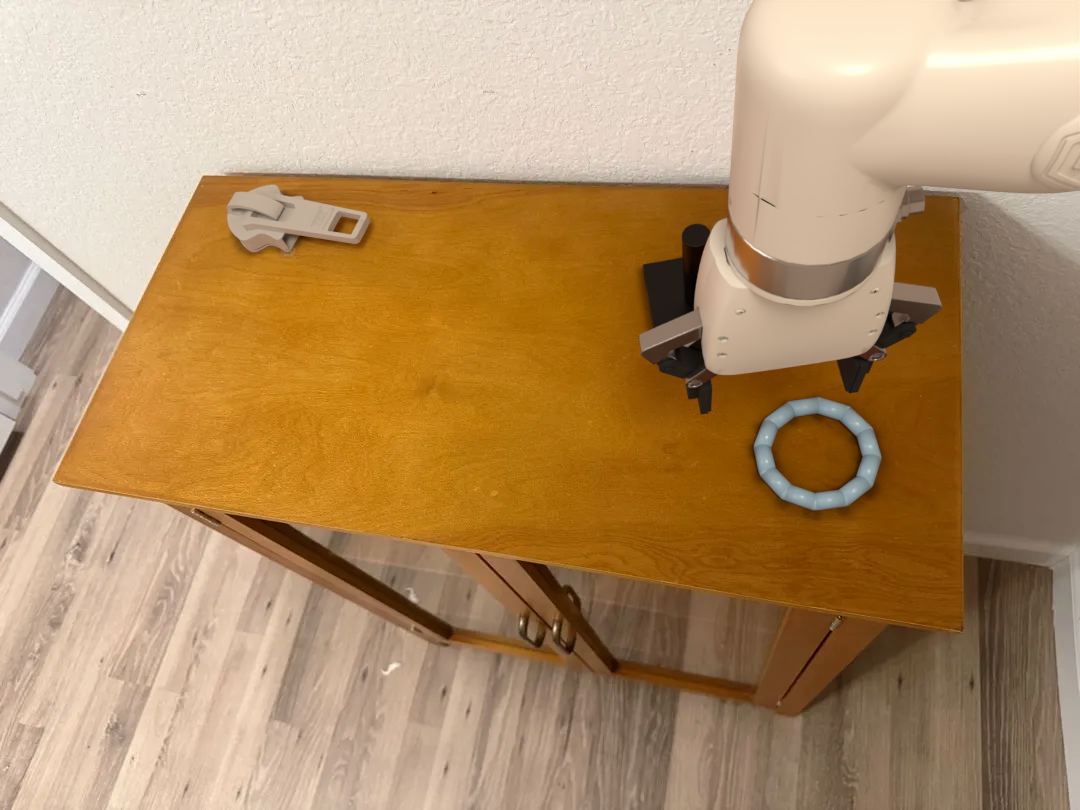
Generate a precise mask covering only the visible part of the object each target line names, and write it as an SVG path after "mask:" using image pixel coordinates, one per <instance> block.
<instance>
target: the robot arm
mask: <svg viewBox="0 0 1080 810" xmlns="http://www.w3.org/2000/svg"><path fill="white" fill-rule="evenodd" d="M736 54H737V55H736V69H735V84H734V103H733V119H732V120H733V121H732V132H731V133H732V137H731V150H730V165H729V167H730V168H729V180H728V182H729V183H728V198H727V209H726V210H727V211H726V217H724V218H722V219H720V220H718V221H717V222H715V224H714V225H713V227H712V229H711V230H710V232H711V233H710V235H709V238H708V240H707V243H706V245H705V248H704V251H703V254H702V258H701V262H700V266H699V271H698V276H697V283H696V289H695V298H694V311H692V312H690V313H688V314H685V315H683V316H681V317H678V318H676V319H674V320H671V321H669V322H667V323H665V324H662V325H660V326H658V327H655V328H653V327H652V328H651V329H648V330H646V331H644V332H642V333H640V334H639V335H637V337H638V338H637V340H638V345H639V346H638V347H639V354H640V355H641V357H642V358H644V360H647V361H648V362H649V363H650V364H652V365H656V366H657V367H658V371H659V372H660V373H662V374H666V375H668V376H671V377H675V378H678V379H681V380H683V381H684V386H685V390H686V395H687V400H695V399H697V402H698V409H699V413H700V415H709V414H710V413H709V412H712V403H713V402H712V401H713V384H712V379H713V378H715V377H716V376H735V375H744V374H750V373H751V374H752V373H759V372H766V371H767V372H768V371H773V370H781V369H787V368H793V367H801V366H807V365H812V364H819V363H825V362H831V361H836V364H837V366H838V370H839V375H840V377H841V380H842V384H843V387H844V391H845V393H846V392H847V393H848V394H854V393H855V394H857V393H858V392H859V391H860V390H861V386H862V385H863V382H864V379H865V377H866V375H868V374H869V373H870V371H871V369H872V368H873V367H872V366H873V364H874V362H878V361H882V360H883V359H885V358H886V357H887V356H888V351H887V349H888V348H889V347H891V346H893V345H895V344H897V343H899V342H901V341H903V340H905V339H908V338H910V337H911V336H913V335H915V334H916V333H917V331H918V330H917V326H918V325H919V324H920V325H923V324H925V322H926V321H928V320H930V319H931V318H932V317H933V316H935V315H936V314H938V313H939V312H940V311H941V310H942V309H943V307H944V306H943V303H942V301H941V298H940V296H939V293H938V291H937V289H936V287H933V286H925V285H919V284H914V283H913V284H912V283H905V282H898V281H895V274H896V257H897V246H896V234H895V230H896V227H897V225H898V224H900V223H902V221H903V220H906V219H907V218H908V217H909V216H914V215H920V214H923V213H924V212H925V207H926V195H925V190H924V188H923V187H932V188H945V189H957V190H959V189H960V190H969V191H983V192H992V193H993V192H995V193H1009V194H1025V195H1027V194H1032V195H1033V194H1036V195H1037V194H1038V195H1039V194H1063V193H1064V194H1065V193H1071V192H1080V0H752V2H751V4H750V5H749V7H748V9H747V11H746V13H745V16H744V19H743V20H742V25H741V27H740V33H739V38H738V46H737V53H736Z"/></svg>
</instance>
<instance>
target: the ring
mask: <svg viewBox="0 0 1080 810" xmlns="http://www.w3.org/2000/svg"><path fill="white" fill-rule="evenodd" d="M817 414H818V415H821V416H824V417H827V418H831V419H833V420H837V421H840V422H841V423H842V424H843V425H844V426H845V427H846V428H847V429H848V430H849V431H850V432H851V433H852V434H853V435H855V437H856V439H857V443H858V446H859V449H860V454H861V457H862V458H861V460H860V463H859V467H858V469H857V473H856V476H854V478H852V479H851V480H849V481H848V482H847V483H845V484H844V485H843V486H842V487H840V488H839V489H834V490H826V491H819V492H813V491H812V490H808V489H805V488H802V487H799V486H796V485H793V484H792V483H791V482H790V481H789V480H788V479H787V478H786V477H785V476H784V475H783V474H782V472H780V470H778V468H776V463H775V459H774V454H773V451H772V447H773V444H774V442H775V439H776V436H777V433H778V430H780V429H781V428H782V427H784V426H785V425H786V424H787V423H789V422H791V420H793V419H794V418H796V417H797V418H798V417H804V416H811V415H817ZM753 451H754V456H755V462H756V465H757V470H758V474H759V477H760V478H761V479H762V480H763V481H764V482H765V483H766V484H767V486H769V488H770V489H771V490H772V491H773V492H774V493H775V494H776V495H777V496H778V497H779V498H780V499H781V500H783V501H785V502H788V503H790V504H793V505H796V506H800V507H802V508H804V509H808V510H810V511H815V512H816V511H822V510H831V509H837V508H845V507H848V506H850V505H852V503H853V502H855V501H856V500H858V499H859V498H860V497H861V496H863V495H864V494H865V493H866V492H868V491H869V490H870V489H872V488H873V486H874V484H875V481H876V479H877V478H876V477H877V474H878V471H879V468H880V465H881V462H882V453H881V450H880V447H879V443H878V440H877V436H876V433H875V430H874V428H873V427H872V426H871V424H870V423H868V422H867V421H866V420H865V419H864V418H863V417H862V416H861V415H860V414H859V413H857V411H856V410H855V409H853V408H852V407H851V406H850V405H847V404H844V403H840V402H838V401H834V400H831V399H827V398H824V397H821V396H813V397H809V398H808V397H807V398H801V399H795V400H794V399H793V400H789V401H787V402H784V404H782V405H780V407H778V408H777V409H775V410H773V412H772V413H770V414H769V415H767V416H766V417H765V418H764V419H763V420H762V423H761V425H760V428H759V430H758V433H757V435H756V437H755V441H754V444H753Z"/></svg>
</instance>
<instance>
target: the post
mask: <svg viewBox="0 0 1080 810" xmlns="http://www.w3.org/2000/svg"><path fill="white" fill-rule="evenodd" d="M710 233H711V230H710V228H709V227H708V226H706V225H705V224H702V223H692V224H690V225H688V226H686V227H685V228H684V229H683V230H682V232H681V252H682V256H681V257H677V258H672V259H671V258H670V259H666V260H661V261H654V262H649V263H643V264H642V270H643V276H644V281H645V287H646V288H645V289H646V294H647V300H648V306H649V312H650V317H651V324H652V329H653V328H655V327H658V326H660V325H662V324H665V323H667V322H669V321H671V320H674V319H676V318H678V317H681V316H683V315H685V314H688V313H690V312H692V311H694V298H695V289H696V283H697V276H698V271H699V266H700V262H701V258H702V254H703V251H704V248H705V245H706V243H707V240H708V238H709V235H710Z"/></svg>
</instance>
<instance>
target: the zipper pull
mask: <svg viewBox="0 0 1080 810" xmlns="http://www.w3.org/2000/svg"><path fill="white" fill-rule="evenodd" d="M226 212H227V215H226V219H227V220H226V221H227V225H228V227H229V230H230V231H231V233H232V234H233V236H235V238H237V239H238V240H239V241H240V243H241V244H242V246H243V247H244V248H245V249H246V250H248V252H251V253H258V252H260V251H262V250H264V249H266V248H267V247H270V246H271V247H272V246H273V247H276V248H279V249H280V250H282V251H283V252H287V253H289V252H291V251H292V249H293V248H294V245H295V244H296V242H297V241H298V239H299V237H300V236H303V237H308V238H309V237H310V238H315V239H322V240H329V241H333V242H341V243H348V244H353V245H356V244H358V243H360V242H361V241H362V238H363V237H364V235H365V233H366V231H367V229H368V228H369V225H370V223H371V219H370V217H369V215H368V214H367V212H366V211H361V210H357V209H356V210H355V209H350V208H346V207H341V206H337V205H331V204H327V203H323V202H317V201H313V200H309V199H305V198H304V197H303V196H302V195H294V196H288V195H284V193H283V192H282V190H281V189H280V188H279V186H278V185H277V184H267V185H262V186H259V187H256V188H253V189H251V190H248V191H235V192H234V193H233V195H232V197H231V198H230V200H229V202H228V203H227V205H226ZM342 217H345V218H349V219H354V220H357V223H356V224H355V226H354V228H353V230H352V232H351V234H350V233H344V232H339V231H338V232H336V231H334V230H335V229H336V227H337V224H338V223H339V221H340V219H341V218H342Z"/></svg>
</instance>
